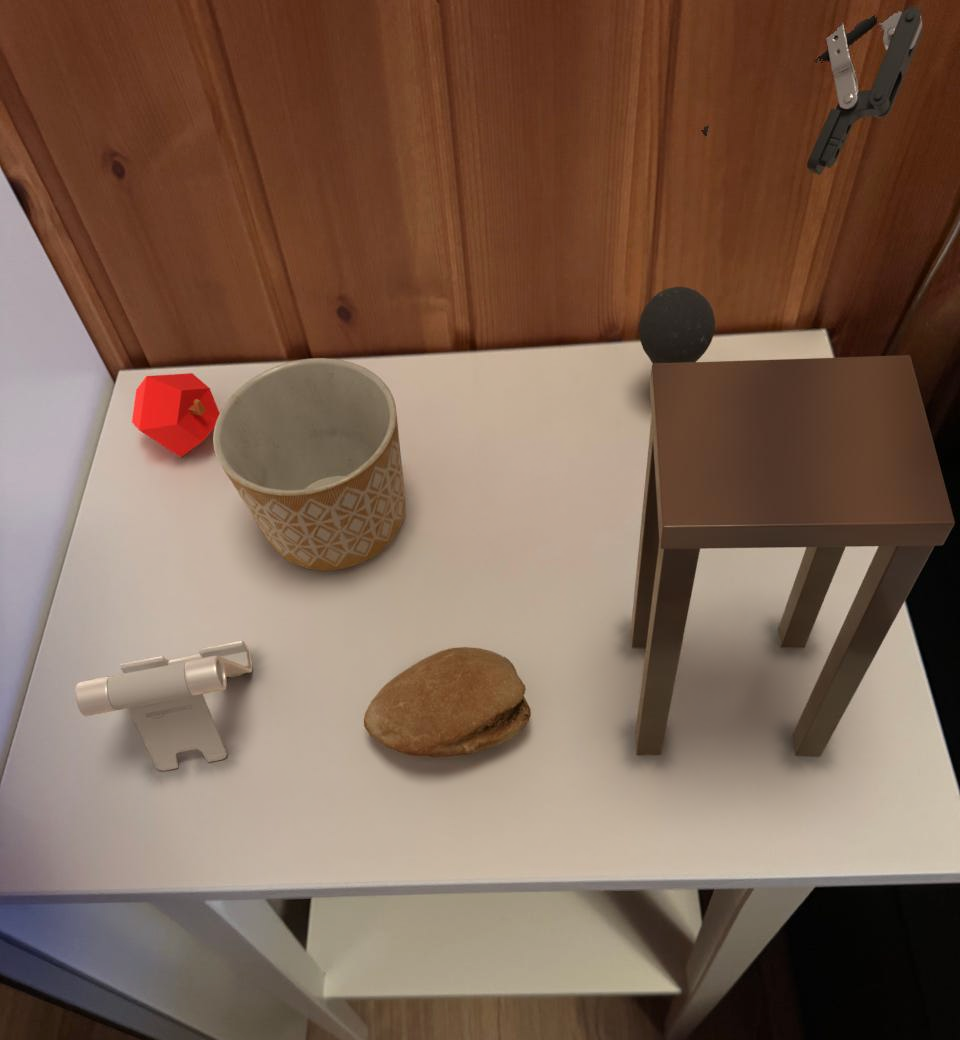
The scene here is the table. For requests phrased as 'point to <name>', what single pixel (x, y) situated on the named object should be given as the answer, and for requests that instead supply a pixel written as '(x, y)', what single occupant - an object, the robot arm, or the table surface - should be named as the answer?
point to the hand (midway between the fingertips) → (757, 153)
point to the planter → (316, 460)
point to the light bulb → (676, 326)
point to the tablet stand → (169, 699)
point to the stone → (450, 705)
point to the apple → (175, 411)
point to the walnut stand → (785, 507)
